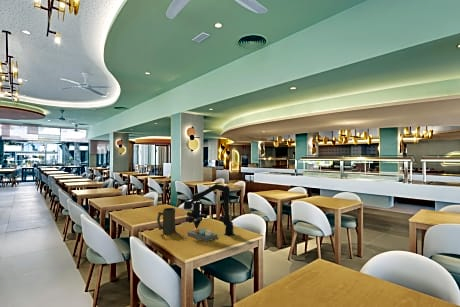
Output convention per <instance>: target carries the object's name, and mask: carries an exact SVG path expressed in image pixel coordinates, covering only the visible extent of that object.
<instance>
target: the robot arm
mask: <svg viewBox="0 0 460 307" xmlns="http://www.w3.org/2000/svg"><path fill="white" fill-rule="evenodd" d="M216 190H217V191H221V192H222V194H223V198H224V199H223V200H224V202H223V203H224V204H223V207H224V215H222V224H223V225H224V227H225V228H224V229H225V231H224V232H225V233H224V234H223V235H225V236H228V237H231V236H234V235H236V234H235V233H234V222H233V221H232V220H231V215H230V199H229V198H230V197H229V196H230V190H231V188H230V186H229V185H223V184H218V183H215V184H213V185H211V186H210V187H208V188H206V189H205V190H203V191H201V192H197V193H195V194H193V196H192V199H191V200H184V201H183V210H191V211H187V212H186V216H187V217H185V222H187V223H193V224H194V226H195V228H196V229H197V228H199V226H200V223H201V222H202V221H203V219H208V215H207V214H205V213H201V212H202V210H201V205H202V204H203V202H202V200H201V199H203V197H205V196H207V195H208V194H210V193H212V192H214V191H216Z"/></svg>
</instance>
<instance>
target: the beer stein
mask: <svg viewBox="0 0 460 307" xmlns="http://www.w3.org/2000/svg"><path fill="white" fill-rule="evenodd" d="M161 216H162V224H161ZM156 222H157V225H158V231H161V230H162V234H164V235H172V234H175V233H176V232H177V230H176V208H175V207H166V208H163V210H162V212H161V211H159V212H158V214H157V217H156Z"/></svg>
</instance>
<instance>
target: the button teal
mask: <svg viewBox="0 0 460 307" xmlns="http://www.w3.org/2000/svg"><path fill="white" fill-rule="evenodd" d="M205 231H206V229H205V228H200V229H199V234H201V235H203V234H205Z"/></svg>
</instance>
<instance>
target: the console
mask: <svg viewBox="0 0 460 307" xmlns="http://www.w3.org/2000/svg"><path fill="white" fill-rule="evenodd" d="M187 236H189V237H192V238H195V239H197V240H200V241H203V242H208V241H212V240H215V239H217V238H218V234H216V233H213V232H211V236H209V237H207V236H205V234H203V235H201V234H199V232H198V233H195V232H194V229H193V230H191V231H187Z"/></svg>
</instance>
